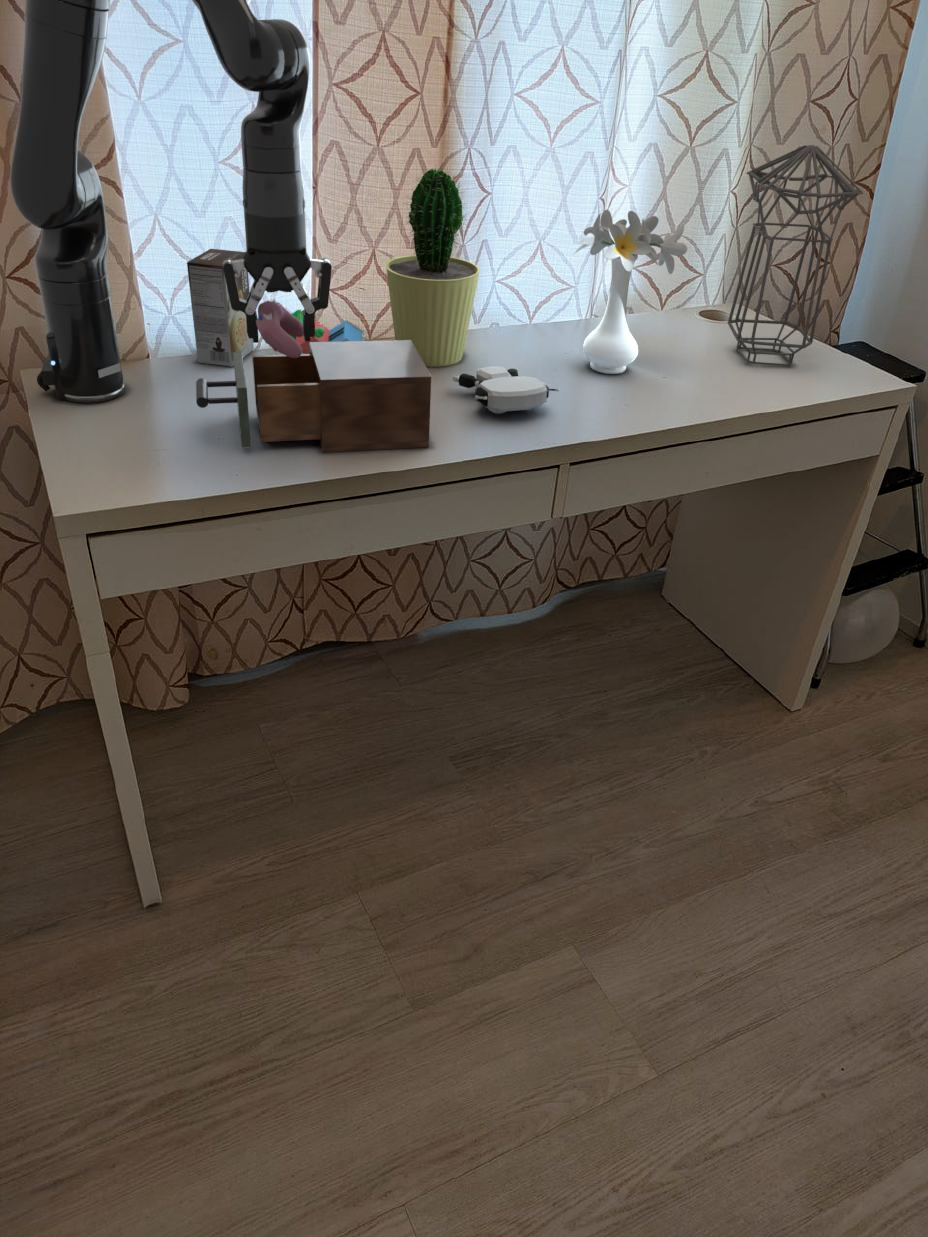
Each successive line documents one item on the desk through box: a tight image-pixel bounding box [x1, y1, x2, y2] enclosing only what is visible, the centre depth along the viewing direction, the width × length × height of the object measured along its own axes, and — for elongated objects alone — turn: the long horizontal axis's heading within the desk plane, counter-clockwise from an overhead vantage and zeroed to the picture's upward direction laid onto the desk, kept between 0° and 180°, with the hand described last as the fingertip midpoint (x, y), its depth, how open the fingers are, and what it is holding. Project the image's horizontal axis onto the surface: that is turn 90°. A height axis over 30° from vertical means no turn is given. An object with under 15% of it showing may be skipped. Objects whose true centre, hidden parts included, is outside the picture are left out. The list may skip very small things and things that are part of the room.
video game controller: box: [256, 298, 304, 358], centre depth 129 cm, size 10×5×7 cm, turn 5°
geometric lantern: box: [727, 144, 864, 367], centre depth 165 cm, size 16×16×35 cm
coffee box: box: [186, 248, 255, 368], centre depth 156 cm, size 9×6×16 cm
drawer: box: [195, 352, 322, 449], centre depth 134 cm, size 19×14×8 cm
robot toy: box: [452, 365, 560, 415], centre depth 150 cm, size 12×4×15 cm
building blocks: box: [290, 309, 365, 354], centre depth 163 cm, size 8×8×12 cm
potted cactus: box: [384, 165, 481, 368], centre depth 158 cm, size 15×15×30 cm
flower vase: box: [572, 209, 688, 375], centre depth 160 cm, size 13×18×25 cm
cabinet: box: [309, 339, 432, 453], centre depth 137 cm, size 15×15×10 cm
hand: (281, 339), depth 130 cm, fingers closed on video game controller, 6 cm apart
